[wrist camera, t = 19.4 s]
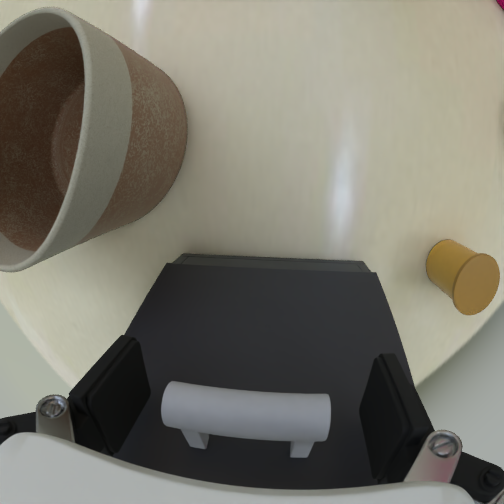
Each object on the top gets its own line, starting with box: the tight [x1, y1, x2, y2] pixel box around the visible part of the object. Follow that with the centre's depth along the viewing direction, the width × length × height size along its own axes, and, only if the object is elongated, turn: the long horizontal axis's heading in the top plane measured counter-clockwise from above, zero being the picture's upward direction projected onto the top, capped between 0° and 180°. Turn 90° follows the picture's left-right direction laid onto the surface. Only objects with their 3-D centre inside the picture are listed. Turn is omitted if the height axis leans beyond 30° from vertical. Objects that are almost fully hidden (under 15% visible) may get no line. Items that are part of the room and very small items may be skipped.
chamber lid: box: [113, 263, 414, 490], centre depth 13 cm, size 16×16×5 cm
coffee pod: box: [426, 240, 500, 315], centre depth 20 cm, size 5×5×6 cm
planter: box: [0, 7, 187, 272], centre depth 17 cm, size 16×16×14 cm
